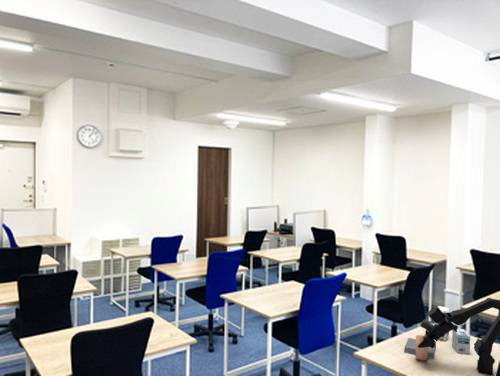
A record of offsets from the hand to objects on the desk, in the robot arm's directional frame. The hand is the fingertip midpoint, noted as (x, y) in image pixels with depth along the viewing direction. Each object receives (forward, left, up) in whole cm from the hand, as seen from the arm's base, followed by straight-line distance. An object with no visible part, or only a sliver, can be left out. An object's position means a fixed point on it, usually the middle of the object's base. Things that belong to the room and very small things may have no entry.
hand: (419, 344), depth 210 cm
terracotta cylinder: (-1, 0, -7) cm, 7 cm away
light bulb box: (-19, -27, -9) cm, 34 cm away
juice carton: (-8, -39, -9) cm, 41 cm away
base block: (+1, -13, -8) cm, 15 cm away
